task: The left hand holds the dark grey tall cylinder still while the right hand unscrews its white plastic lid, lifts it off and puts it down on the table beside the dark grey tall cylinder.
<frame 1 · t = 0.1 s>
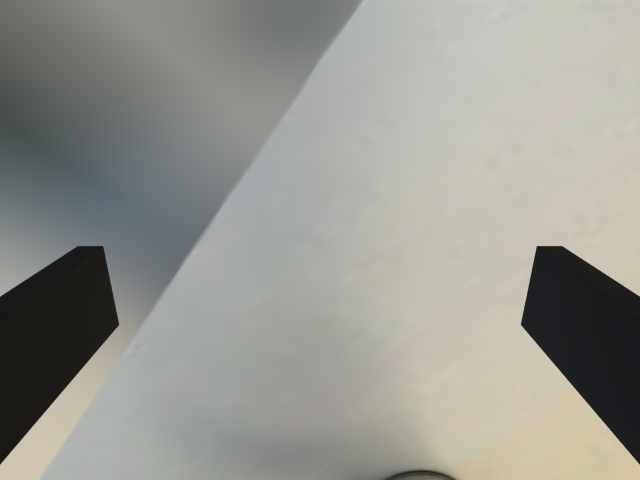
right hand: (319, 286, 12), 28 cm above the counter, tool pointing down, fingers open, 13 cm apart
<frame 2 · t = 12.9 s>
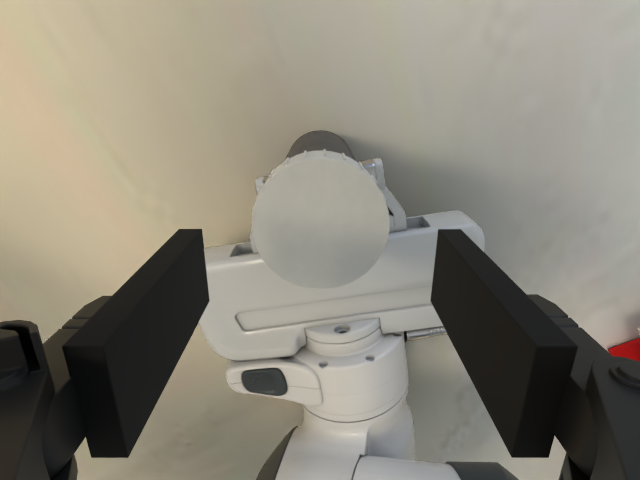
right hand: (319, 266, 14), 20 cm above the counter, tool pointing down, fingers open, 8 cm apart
left hand: (317, 169, 26), fingers closed on dark grey tall cylinder, 5 cm apart
dark grey tall cylinder: (320, 164, 32), on the counter, touching left hand
lid: (320, 225, 18), point 15 cm above the counter, screwed on, not yet turned
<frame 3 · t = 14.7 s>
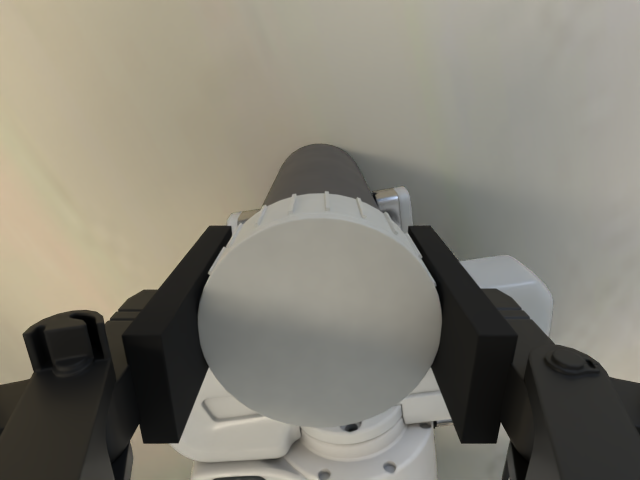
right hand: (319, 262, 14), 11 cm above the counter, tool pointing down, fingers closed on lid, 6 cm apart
dark grey tall cylinder: (319, 187, 25), on the counter, touching left hand
lid: (319, 326, 10), point 15 cm above the counter, screwed on, not yet turned, touching right hand
when the right hand's fingers open (12 cm above the counter, at t = 16.0 s): lid stays where it is, point 16 cm above the counter.
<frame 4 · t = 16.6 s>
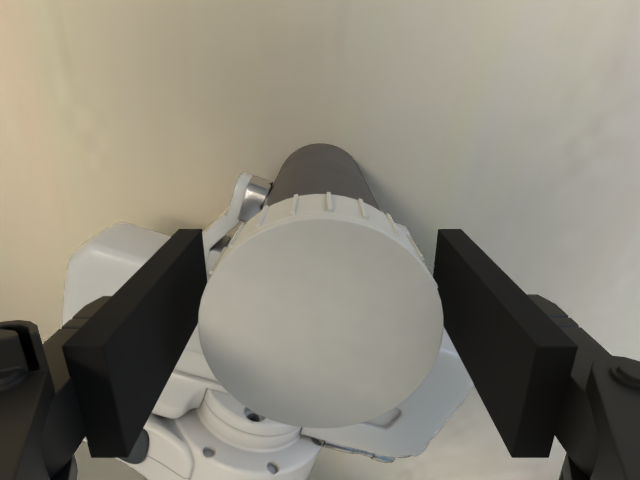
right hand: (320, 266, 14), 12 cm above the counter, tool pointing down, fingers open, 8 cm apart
dark grey tall cylinder: (320, 186, 25), on the counter, touching left hand
lid: (320, 327, 10), point 16 cm above the counter, turned 93° so far, risen 0.2 cm, still on its thread
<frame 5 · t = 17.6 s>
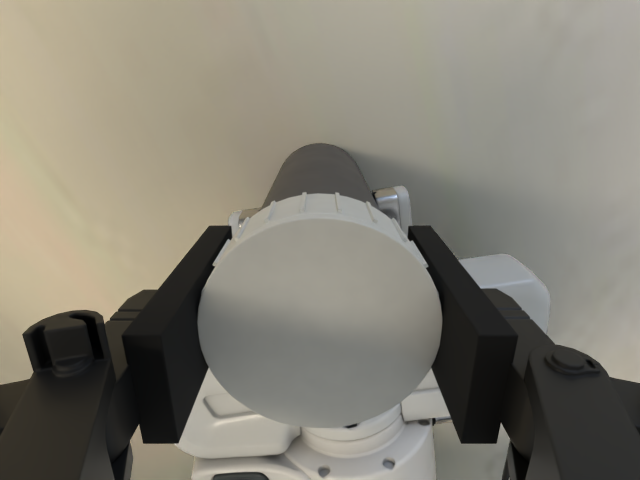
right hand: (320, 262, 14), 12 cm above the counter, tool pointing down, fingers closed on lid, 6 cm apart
dark grey tall cylinder: (319, 186, 25), on the counter, touching left hand
lid: (319, 326, 10), point 16 cm above the counter, turned 93° so far, risen 0.2 cm, still on its thread, touching right hand
when the right hand's fingers open (0 cm above the counter, at t = 24.0 s): lid drops 2 cm, point 2 cm above the counter.
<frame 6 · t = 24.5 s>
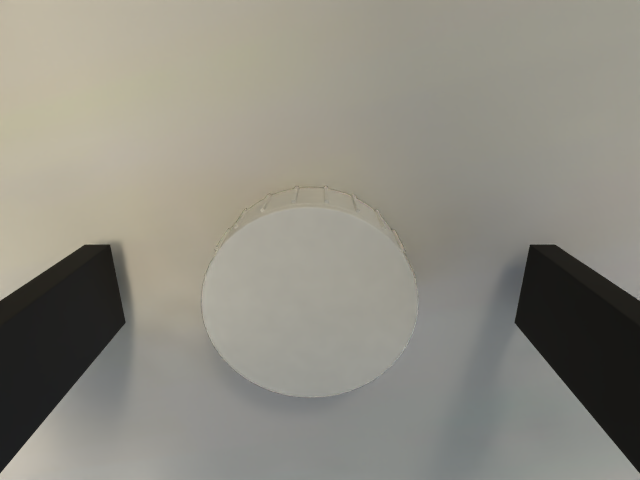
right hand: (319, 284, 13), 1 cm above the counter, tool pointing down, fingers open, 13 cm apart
lid: (310, 305, 12), point 2 cm above the counter, off its thread
when the left hand's fingers open (7 cm above the counter, at t = 25.3 s): dark grey tall cylinder stays where it is, on the counter.
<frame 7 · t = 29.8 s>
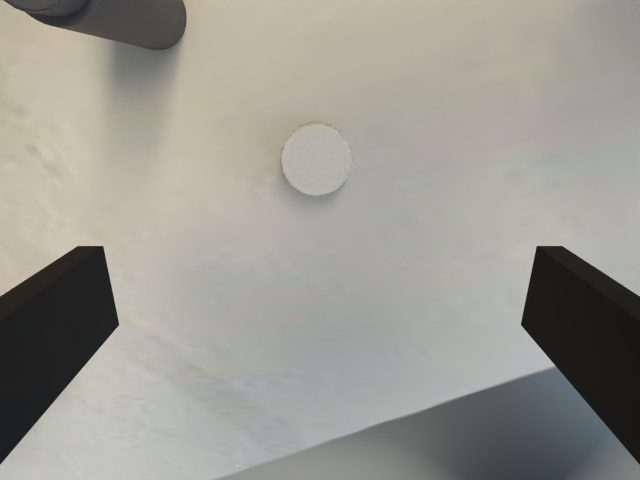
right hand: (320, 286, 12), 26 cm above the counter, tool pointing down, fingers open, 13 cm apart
dark grey tall cylinder: (153, 14, 33), on the counter
lid: (316, 160, 35), point 2 cm above the counter, off its thread
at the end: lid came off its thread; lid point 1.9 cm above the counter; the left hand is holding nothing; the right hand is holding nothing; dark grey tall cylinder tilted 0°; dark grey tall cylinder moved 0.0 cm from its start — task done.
